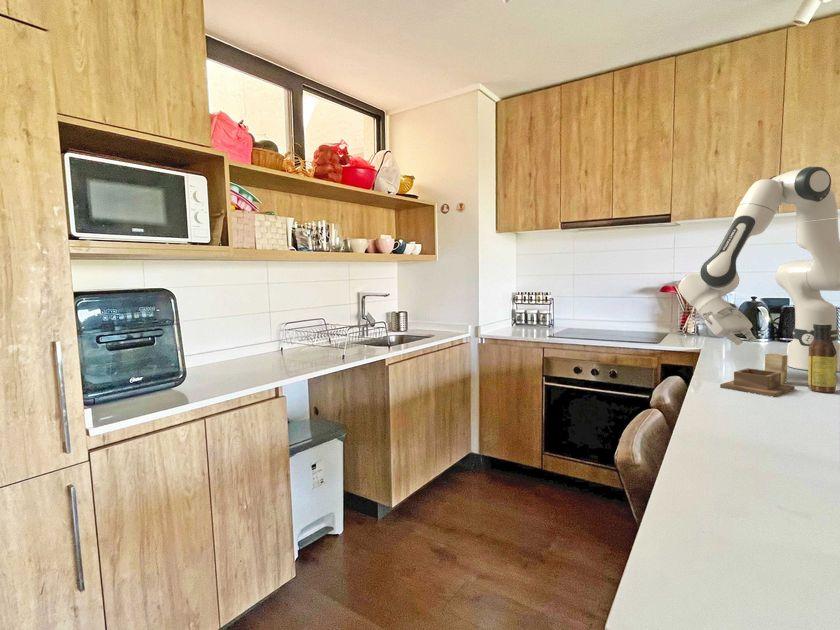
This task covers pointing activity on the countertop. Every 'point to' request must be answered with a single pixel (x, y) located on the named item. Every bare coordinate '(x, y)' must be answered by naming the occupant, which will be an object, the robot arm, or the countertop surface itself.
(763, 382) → the walnut stand
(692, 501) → the countertop surface
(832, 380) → the sauce bottle
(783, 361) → the maple block
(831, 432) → the countertop surface
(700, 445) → the countertop surface
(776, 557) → the countertop surface
